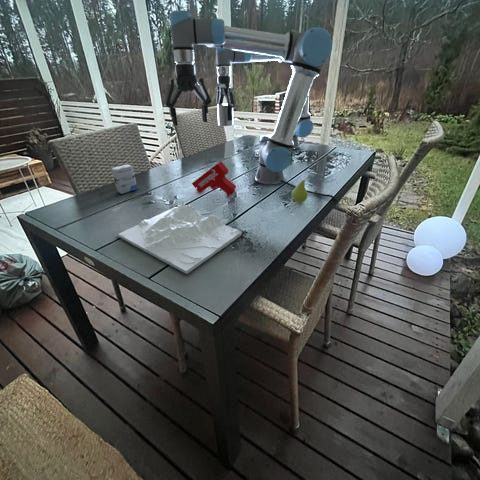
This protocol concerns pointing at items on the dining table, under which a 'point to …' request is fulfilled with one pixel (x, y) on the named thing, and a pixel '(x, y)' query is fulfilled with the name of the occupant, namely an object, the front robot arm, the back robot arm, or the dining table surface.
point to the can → (224, 115)
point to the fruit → (300, 192)
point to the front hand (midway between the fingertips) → (190, 123)
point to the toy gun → (215, 180)
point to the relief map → (181, 237)
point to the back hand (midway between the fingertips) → (225, 119)
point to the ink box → (124, 178)
